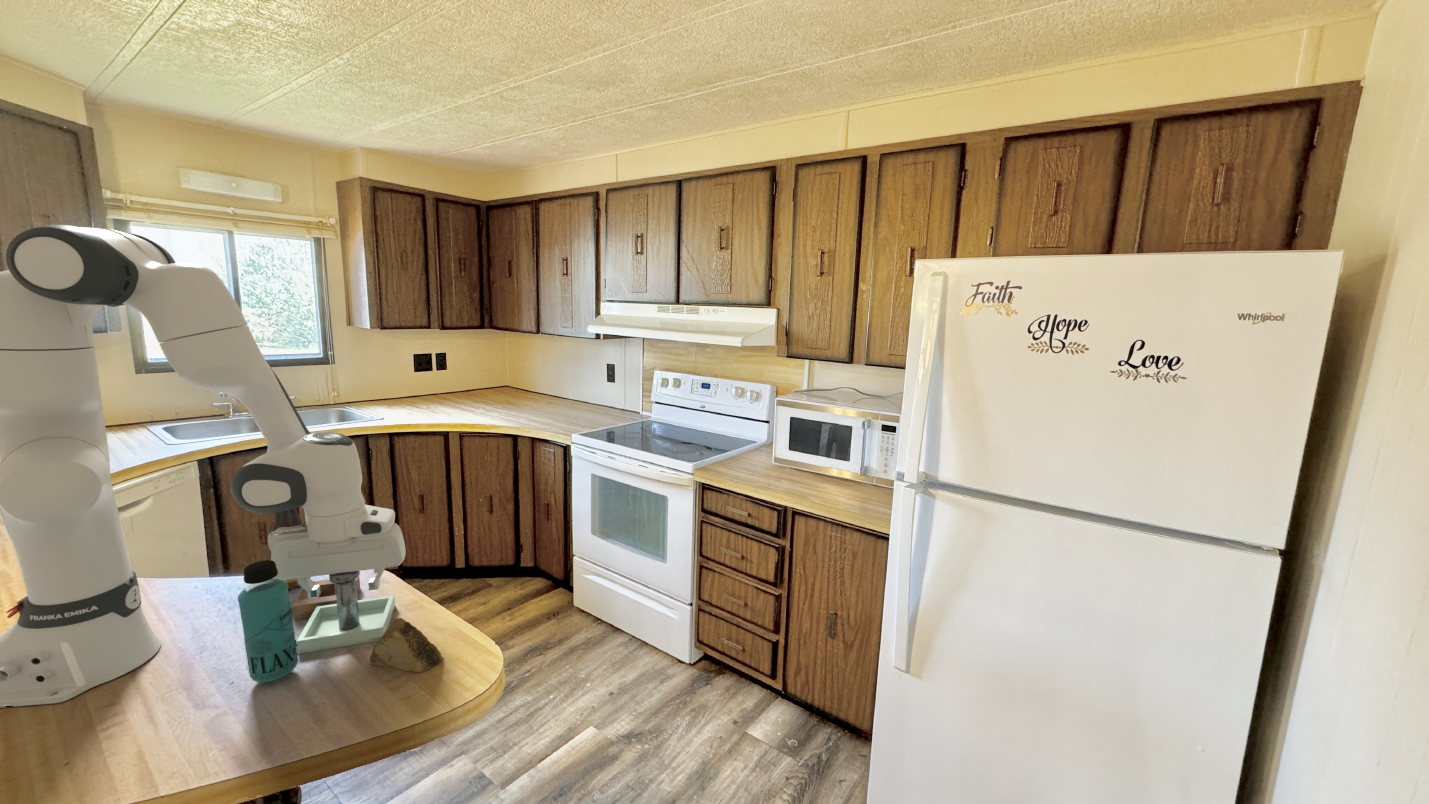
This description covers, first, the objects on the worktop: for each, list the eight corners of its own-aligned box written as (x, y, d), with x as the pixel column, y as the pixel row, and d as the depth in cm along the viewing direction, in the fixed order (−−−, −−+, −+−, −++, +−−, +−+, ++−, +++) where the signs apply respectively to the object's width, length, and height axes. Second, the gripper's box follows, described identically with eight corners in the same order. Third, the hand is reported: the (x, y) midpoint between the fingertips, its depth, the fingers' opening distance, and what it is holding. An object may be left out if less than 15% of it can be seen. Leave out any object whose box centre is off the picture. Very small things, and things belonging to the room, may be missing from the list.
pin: (331, 634, 100) (325, 578, 97) (338, 620, 104) (332, 566, 102) (360, 630, 101) (355, 575, 99) (366, 616, 105) (361, 562, 103)
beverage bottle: (245, 696, 85) (225, 579, 81) (256, 670, 91) (238, 559, 87) (297, 684, 88) (280, 570, 84) (304, 659, 94) (289, 551, 90)
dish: (298, 654, 95) (296, 641, 95) (318, 618, 105) (316, 606, 105) (384, 639, 100) (383, 627, 99) (395, 606, 110) (394, 595, 109)
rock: (347, 659, 91) (375, 677, 85) (373, 606, 94) (403, 620, 89) (406, 667, 99) (436, 684, 93) (428, 618, 102) (459, 631, 97)
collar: (294, 620, 104) (292, 606, 104) (309, 595, 113) (307, 582, 112) (349, 612, 108) (347, 598, 107) (360, 588, 116) (359, 575, 115)
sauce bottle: (292, 593, 113) (279, 502, 109) (267, 589, 115) (253, 499, 110) (320, 577, 120) (309, 491, 116) (296, 573, 121) (284, 488, 117)
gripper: (258, 536, 92) (269, 611, 94) (397, 522, 99) (404, 592, 102) (273, 521, 97) (283, 592, 100) (404, 509, 104) (409, 575, 107)
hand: (345, 592), depth 101 cm, fingers open, 8 cm apart
